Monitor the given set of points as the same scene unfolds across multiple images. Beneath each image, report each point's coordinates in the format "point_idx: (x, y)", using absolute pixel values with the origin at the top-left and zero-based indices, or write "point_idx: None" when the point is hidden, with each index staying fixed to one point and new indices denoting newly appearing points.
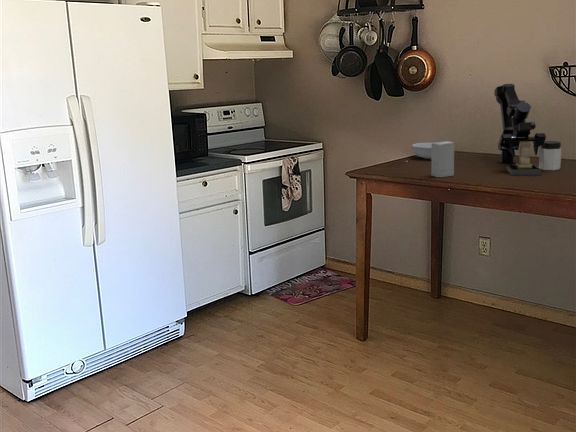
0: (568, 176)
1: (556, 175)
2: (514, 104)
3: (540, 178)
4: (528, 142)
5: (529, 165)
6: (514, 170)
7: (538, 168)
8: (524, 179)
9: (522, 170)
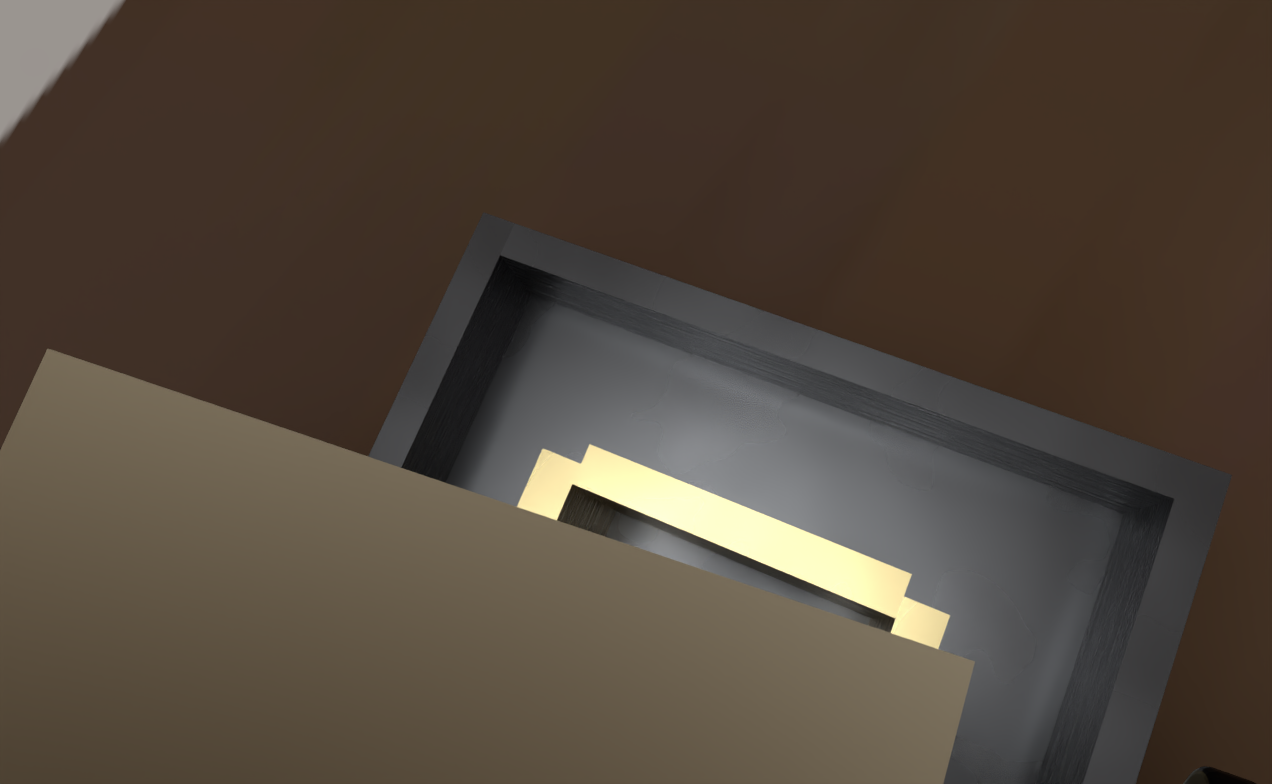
0: (165, 11)
1: (268, 162)
2: None
3: (727, 2)
4: (101, 595)
5: (626, 464)
6: (1148, 449)
7: (441, 374)
8: (1096, 10)
9: (925, 372)
